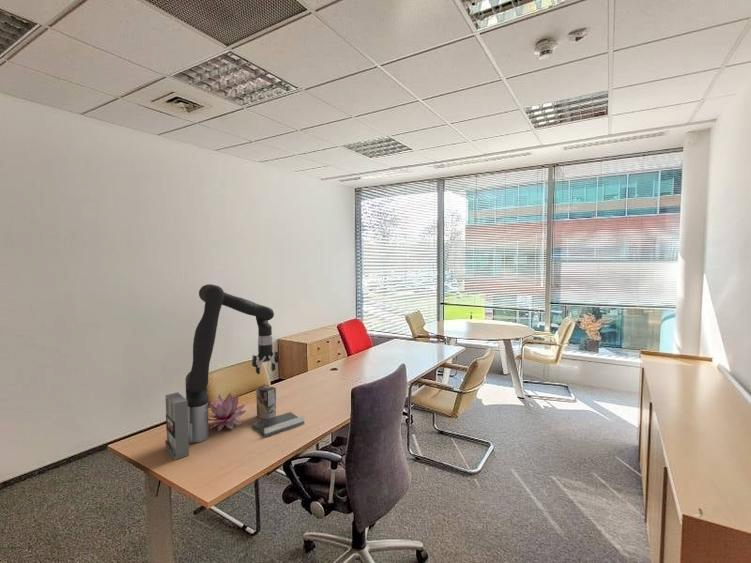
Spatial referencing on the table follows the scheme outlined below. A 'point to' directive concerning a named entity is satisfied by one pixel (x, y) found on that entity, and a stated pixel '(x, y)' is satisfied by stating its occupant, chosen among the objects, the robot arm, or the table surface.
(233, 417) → the decorative flower
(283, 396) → the table surface
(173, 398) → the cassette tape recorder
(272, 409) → the coffee box
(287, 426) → the shelf
